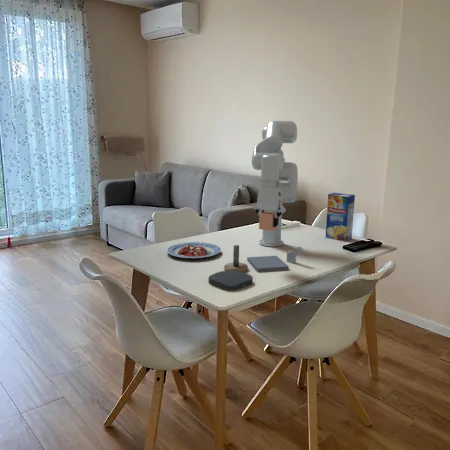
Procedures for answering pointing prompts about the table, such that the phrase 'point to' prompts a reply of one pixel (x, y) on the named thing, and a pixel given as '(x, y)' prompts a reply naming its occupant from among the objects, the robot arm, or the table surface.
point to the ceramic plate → (193, 250)
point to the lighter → (293, 255)
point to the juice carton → (340, 216)
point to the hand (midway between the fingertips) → (268, 225)
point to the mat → (267, 263)
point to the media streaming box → (230, 280)
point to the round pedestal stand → (236, 262)
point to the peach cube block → (266, 221)
